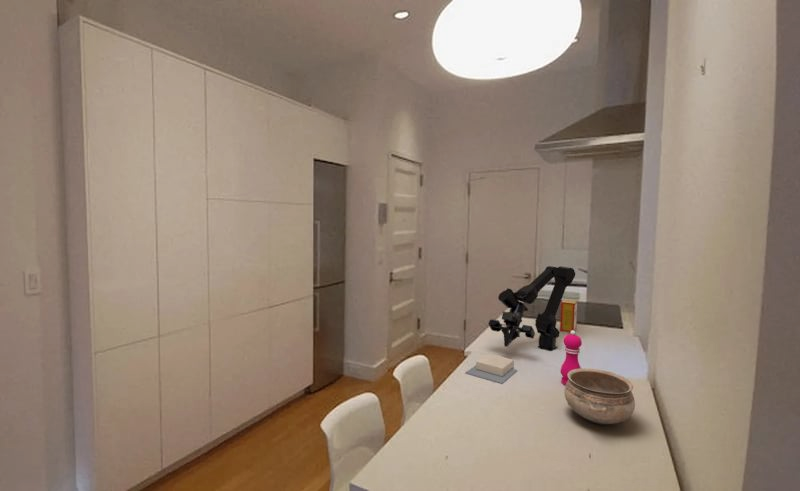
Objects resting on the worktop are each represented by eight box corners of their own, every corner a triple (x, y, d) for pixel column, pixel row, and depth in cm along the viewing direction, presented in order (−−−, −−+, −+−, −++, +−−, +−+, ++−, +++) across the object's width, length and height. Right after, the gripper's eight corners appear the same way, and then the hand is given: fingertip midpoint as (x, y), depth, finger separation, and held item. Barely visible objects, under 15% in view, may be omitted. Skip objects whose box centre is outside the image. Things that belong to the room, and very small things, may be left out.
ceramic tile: (488, 353, 160) (476, 361, 152) (513, 359, 154) (502, 368, 145) (488, 361, 161) (476, 369, 152) (513, 367, 154) (502, 376, 145)
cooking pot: (637, 450, 101) (640, 405, 100) (560, 431, 110) (562, 390, 109) (630, 407, 124) (632, 370, 123) (566, 394, 132) (567, 360, 131)
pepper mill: (581, 381, 142) (584, 329, 141) (581, 390, 136) (584, 334, 134) (560, 378, 145) (562, 326, 144) (559, 386, 139) (561, 331, 137)
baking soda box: (573, 333, 201) (574, 303, 199) (559, 331, 204) (561, 301, 203) (576, 328, 209) (577, 299, 207) (563, 326, 212) (564, 298, 211)
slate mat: (482, 361, 161) (482, 360, 161) (517, 370, 152) (517, 369, 152) (465, 373, 149) (465, 372, 149) (502, 384, 140) (502, 382, 140)
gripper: (490, 301, 168) (478, 332, 160) (533, 307, 157) (523, 341, 149) (497, 314, 175) (486, 345, 167) (538, 321, 164) (529, 354, 156)
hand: (505, 346), depth 160 cm, fingers closed
